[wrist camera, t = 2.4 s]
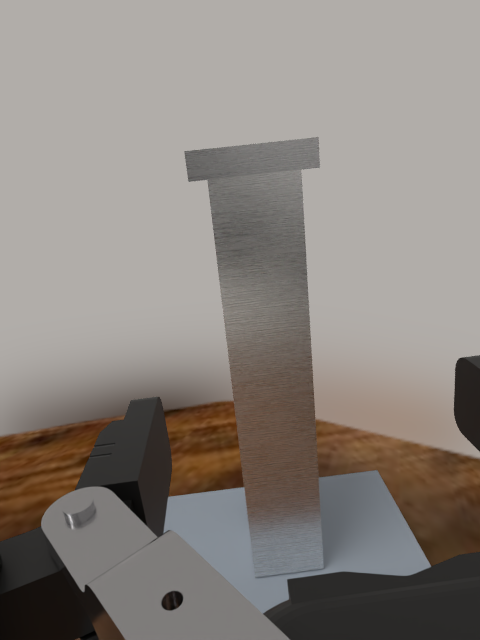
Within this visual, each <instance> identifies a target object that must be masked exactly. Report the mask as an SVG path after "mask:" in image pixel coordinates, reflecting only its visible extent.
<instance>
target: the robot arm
mask: <svg viewBox="0 0 480 640" xmlns="http://www.w3.org/2000/svg"><path fill="white" fill-rule="evenodd" d="M455 371H456V372H455V397H454V416H455V420H456V423H457V426H458V428H459V430H460V431H461V433H462V434H463V435H464V436H465V437H466V438H467V439H468V440H469V441H470V442H471V443H472V444H473V445H474V446H475V447H476V448H477V449H478V450H479V451H480V355H479V356H472V357H464V358H460V359H459V360H458V361H457V363H456V368H455ZM171 472H172V459H171V449H170V444H169V438H168V433H167V427H166V422H165V417H164V411H163V406H162V402H161V399H160V397H153V398H145V399H138V400H131V402H130V404H129V407H128V410H127V413H126V415H125V418H124V420H118V421H112V422H111V423H110V424H109V425H108V426H107V427H106V428H105V429H104V430H103V431H101V432H100V434H99V436H98V438H97V441H96V443H95V445H94V448H93V450H92V452H91V454H90V459H88V461H87V464H86V466H85V468H84V470H83V473H82V475H81V477H80V480H79V482H78V484H77V486H76V489H75V491H72V492H70V493H68V494H66V495H64V496H63V497H61V498H60V499H58V500H57V501H55V502H54V503H53V504H52V505H51V506H50V507H49V508H48V509H47V511H46V512H45V514H44V515H43V518H42V521H41V526H40V527H38V528H36V529H34V530H31V531H29V532H26V533H24V534H21V535H18V536H15V537H12V538H10V539H7V540H4V541H1V542H0V640H75V639H76V640H480V552H476V553H469V554H462V555H458V556H456V557H453V558H451V559H448V560H446V561H444V562H441V563H439V564H436V565H434V566H432V567H429V568H427V569H424V570H422V571H420V572H417V573H415V574H412V575H408V576H397V575H384V574H372V573H359V572H346V571H342V572H335V573H328V574H321V575H314V576H307V577H300V578H293V579H287V585H288V594H289V600H286V601H284V602H282V603H280V604H278V605H276V606H274V607H272V608H271V609H269V610H267V611H266V612H264V613H263V614H262V613H261V612H260V611H259V610H258V609H257V608H256V607H255V606H254V605H253V604H252V603H251V602H250V601H249V600H248V599H246V598H245V597H244V596H243V595H242V594H241V593H240V592H239V591H238V590H237V589H236V588H235V587H234V586H233V585H232V584H230V583H229V582H228V581H227V580H226V579H225V578H224V577H223V576H222V575H221V574H220V573H219V572H218V571H217V570H216V569H215V568H213V567H212V566H211V565H210V564H209V563H208V562H207V561H206V560H205V559H204V558H203V557H202V556H201V555H200V554H199V553H197V552H196V551H195V550H194V549H193V548H192V547H191V546H190V545H189V544H188V543H187V542H186V541H185V540H184V539H183V538H182V537H180V536H179V535H178V534H177V533H176V532H174V531H172V530H168V531H166V532H165V533H163V532H164V524H165V517H166V509H167V502H168V495H169V487H170V480H171Z"/></svg>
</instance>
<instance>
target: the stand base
mask: <svg viewBox="0 0 480 640" xmlns="http://www.w3.org/2000/svg"><path fill="white" fill-rule="evenodd" d="M319 494H320V512H321V530H322V548H323V565H324V568H323V569H316V570H308V571H301V572H293V573H286V574H278V575H271V576H263V577H256V578H255V573H254V565H253V556H252V548H251V539H250V531H249V523H248V514H247V506H246V498H245V489H244V487H242V488H235V489H227V490H219V491H211V492H203V493H196V494H188V495H180V496H172V497H168V502H167V509H166V517H165V524H164V532H163V533H165V532H166V531H168V530H172V531H174V532H176V533H177V534H178V535H179V536H180V537H182V538H183V539H184V540H185V541H186V542H187V543H188V544H189V545H190V546H191V547H192V548H193V549H194V550H195V551H196V552H197V553H199V554H200V555H201V556H202V557H203V558H204V559H205V560H206V561H207V562H208V563H209V564H210V565H211V566H212V567H213V568H215V569H216V570H217V571H218V572H219V573H220V574H221V575H222V576H223V577H224V578H225V579H226V580H227V581H228V582H229V583H230V584H232V585H233V586H234V587H235V588H236V589H237V590H238V591H239V592H240V593H241V594H242V595H243V596H244V597H245V598H246V599H248V600H249V601H250V602H251V603H252V604H253V605H254V606H255V607H256V608H257V609H258V610H259V611H260V612H261V613H262V614H263V613H264V612H266V611H267V610H269V609H271V608H272V607H274V606H276V605H278V604H280V603H282V602H284V601H286V600H289V594H288V585H287V579H293V578H300V577H307V576H314V575H321V574H328V573H335V572H342V571H346V572H359V573H372V574H384V575H397V576H408V575H412V574H415V573H417V572H420V571H422V570H424V569H427V568H429V567H431V565H430V563H429V562H428V560H427V558H426V556H425V554H424V553H423V551H422V549H421V547H420V546H419V544H418V542H417V540H416V538H415V537H414V535H413V533H412V531H411V530H410V528H409V526H408V524H407V522H406V521H405V519H404V517H403V515H402V514H401V512H400V510H399V508H398V506H397V505H396V503H395V501H394V499H393V497H392V496H391V494H390V492H389V490H388V489H387V487H386V485H385V483H384V481H383V480H382V478H381V476H380V474H379V473H378V471H377V470H375V471H367V472H359V473H352V474H344V475H336V476H328V477H320V478H319Z"/></svg>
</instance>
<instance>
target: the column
mask: <svg viewBox="0 0 480 640" xmlns="http://www.w3.org/2000/svg"><path fill="white" fill-rule="evenodd" d="M185 159H186V166H187V174H188V181H189V182H190V181H200V180H208V188H209V197H210V205H211V214H212V222H213V230H214V238H215V246H216V255H217V264H218V272H219V280H220V289H221V297H222V305H223V314H224V321H225V331H226V339H227V346H228V354H229V355H228V356H229V364H230V372H231V381H232V389H233V397H234V406H235V414H236V422H237V431H238V439H239V448H240V456H241V464H242V473H243V481H244V489H245V498H246V506H247V514H248V523H249V531H250V539H251V548H252V556H253V565H254V573H255V578H256V577H263V576H271V575H278V574H286V573H293V572H301V571H308V570H316V569H323V568H324V565H323V548H322V530H321V512H320V494H319V477H318V459H317V441H316V423H315V406H314V390H313V389H314V388H313V370H312V353H311V336H310V317H309V300H308V282H307V265H306V246H305V229H304V211H303V193H302V175H301V169H310V168H319V167H320V161H319V140H318V137H316V138H307V139H297V140H288V141H278V142H269V143H260V144H250V145H242V146H232V147H222V148H213V149H203V150H194V151H185Z"/></svg>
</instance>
